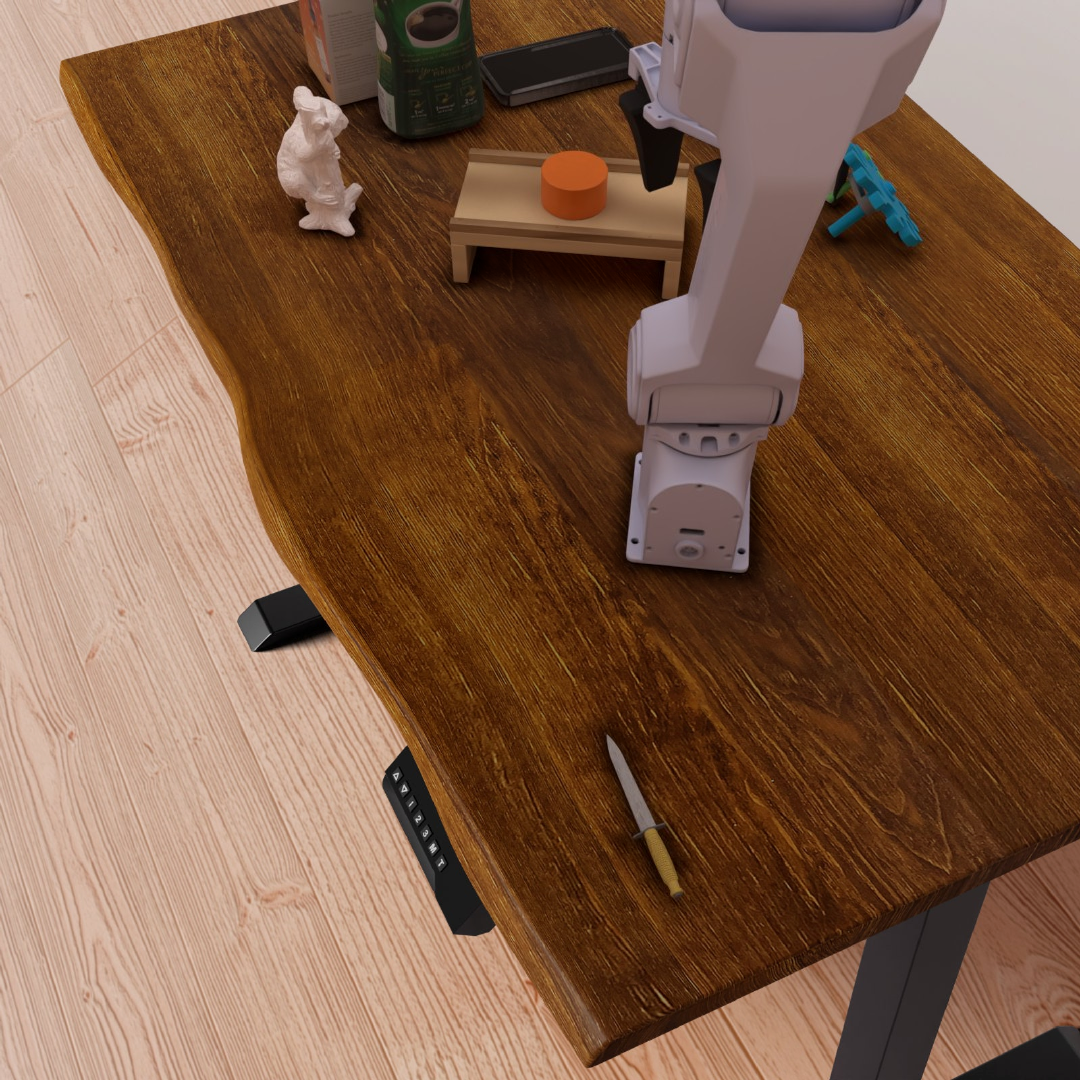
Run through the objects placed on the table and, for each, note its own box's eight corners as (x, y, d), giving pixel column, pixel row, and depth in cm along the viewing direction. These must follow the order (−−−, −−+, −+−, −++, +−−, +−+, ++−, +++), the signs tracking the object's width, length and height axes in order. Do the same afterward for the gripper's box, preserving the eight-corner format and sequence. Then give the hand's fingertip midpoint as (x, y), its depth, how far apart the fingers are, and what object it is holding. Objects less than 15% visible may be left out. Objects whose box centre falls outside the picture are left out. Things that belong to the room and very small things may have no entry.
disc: (571, 172, 95) (571, 142, 92) (619, 199, 92) (621, 168, 90) (527, 201, 92) (527, 171, 90) (576, 229, 90) (577, 198, 88)
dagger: (589, 737, 68) (620, 723, 68) (592, 744, 69) (623, 730, 69) (660, 901, 62) (694, 886, 62) (662, 906, 62) (696, 891, 63)
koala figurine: (378, 239, 97) (360, 109, 88) (299, 255, 96) (272, 126, 86) (356, 181, 102) (337, 53, 93) (280, 196, 101) (253, 67, 91)
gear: (940, 258, 93) (872, 175, 88) (876, 302, 96) (807, 224, 91) (908, 190, 101) (843, 110, 96) (850, 232, 104) (784, 157, 99)
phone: (648, 63, 111) (503, 97, 108) (647, 74, 112) (503, 108, 109) (613, 24, 116) (472, 55, 112) (612, 34, 117) (473, 66, 113)
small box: (308, 66, 114) (289, -42, 105) (362, 53, 115) (348, -55, 107) (334, 108, 109) (317, -1, 101) (390, 94, 110) (378, -15, 102)
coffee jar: (468, 84, 112) (456, -121, 97) (494, 129, 107) (486, -80, 92) (370, 103, 110) (343, -103, 95) (392, 150, 105) (367, -60, 90)
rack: (676, 300, 92) (683, 241, 88) (453, 282, 94) (449, 223, 89) (682, 222, 99) (689, 163, 94) (473, 206, 100) (469, 147, 95)
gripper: (593, -5, 74) (587, 177, 85) (723, 107, 67) (698, 291, 77) (685, -31, 76) (667, 150, 87) (821, 74, 69) (784, 258, 79)
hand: (687, 214), depth 82 cm, fingers open, 7 cm apart
